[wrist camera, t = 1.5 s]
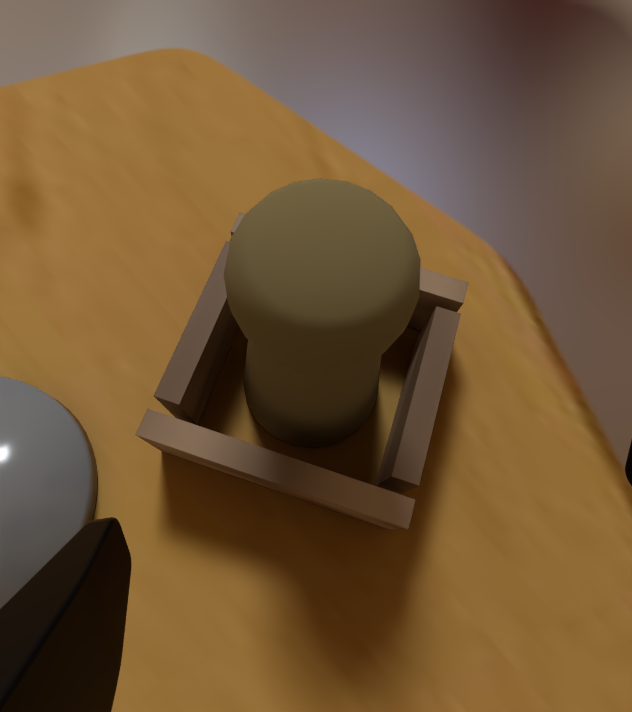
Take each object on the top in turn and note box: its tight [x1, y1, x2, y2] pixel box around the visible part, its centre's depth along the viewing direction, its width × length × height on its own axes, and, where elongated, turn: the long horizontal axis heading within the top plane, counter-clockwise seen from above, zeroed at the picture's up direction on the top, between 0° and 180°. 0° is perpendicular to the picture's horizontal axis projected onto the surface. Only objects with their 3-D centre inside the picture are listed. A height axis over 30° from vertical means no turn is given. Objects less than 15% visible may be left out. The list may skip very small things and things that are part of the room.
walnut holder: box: [136, 213, 468, 530], centre depth 20 cm, size 10×10×4 cm
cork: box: [224, 178, 420, 448], centre depth 16 cm, size 6×6×11 cm
